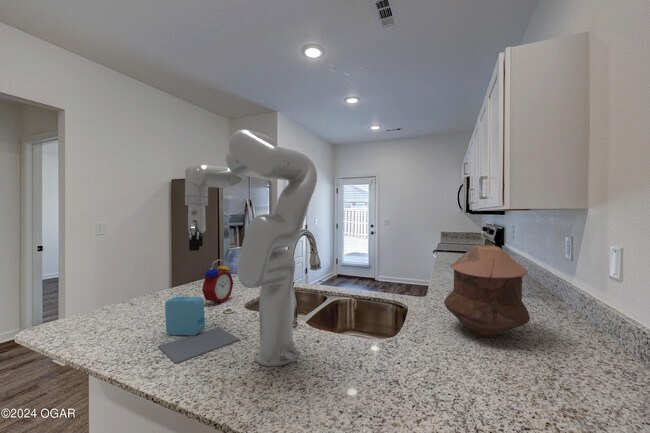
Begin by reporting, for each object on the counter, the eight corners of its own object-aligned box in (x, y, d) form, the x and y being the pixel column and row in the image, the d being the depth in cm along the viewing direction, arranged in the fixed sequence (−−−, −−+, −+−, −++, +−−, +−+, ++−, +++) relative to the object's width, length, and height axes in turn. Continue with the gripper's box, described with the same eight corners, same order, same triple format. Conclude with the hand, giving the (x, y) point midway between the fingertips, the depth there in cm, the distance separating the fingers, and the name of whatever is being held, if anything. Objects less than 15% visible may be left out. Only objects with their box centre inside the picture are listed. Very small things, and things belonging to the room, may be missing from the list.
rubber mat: (240, 340, 96) (240, 339, 96) (175, 364, 81) (175, 362, 81) (218, 327, 106) (218, 326, 106) (157, 347, 92) (157, 345, 92)
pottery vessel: (468, 313, 119) (468, 240, 118) (542, 335, 98) (543, 246, 97) (429, 328, 104) (429, 245, 103) (507, 358, 83) (508, 253, 82)
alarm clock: (213, 307, 129) (212, 262, 128) (197, 305, 131) (196, 261, 131) (234, 297, 143) (233, 257, 142) (219, 296, 145) (218, 256, 145)
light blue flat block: (205, 330, 103) (204, 296, 103) (197, 335, 98) (196, 300, 98) (174, 329, 105) (173, 296, 105) (165, 334, 100) (164, 300, 100)
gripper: (205, 201, 98) (204, 252, 98) (209, 201, 114) (209, 244, 115) (180, 200, 95) (180, 252, 96) (189, 200, 112) (188, 245, 113)
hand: (196, 248), depth 106 cm, fingers open, 9 cm apart
